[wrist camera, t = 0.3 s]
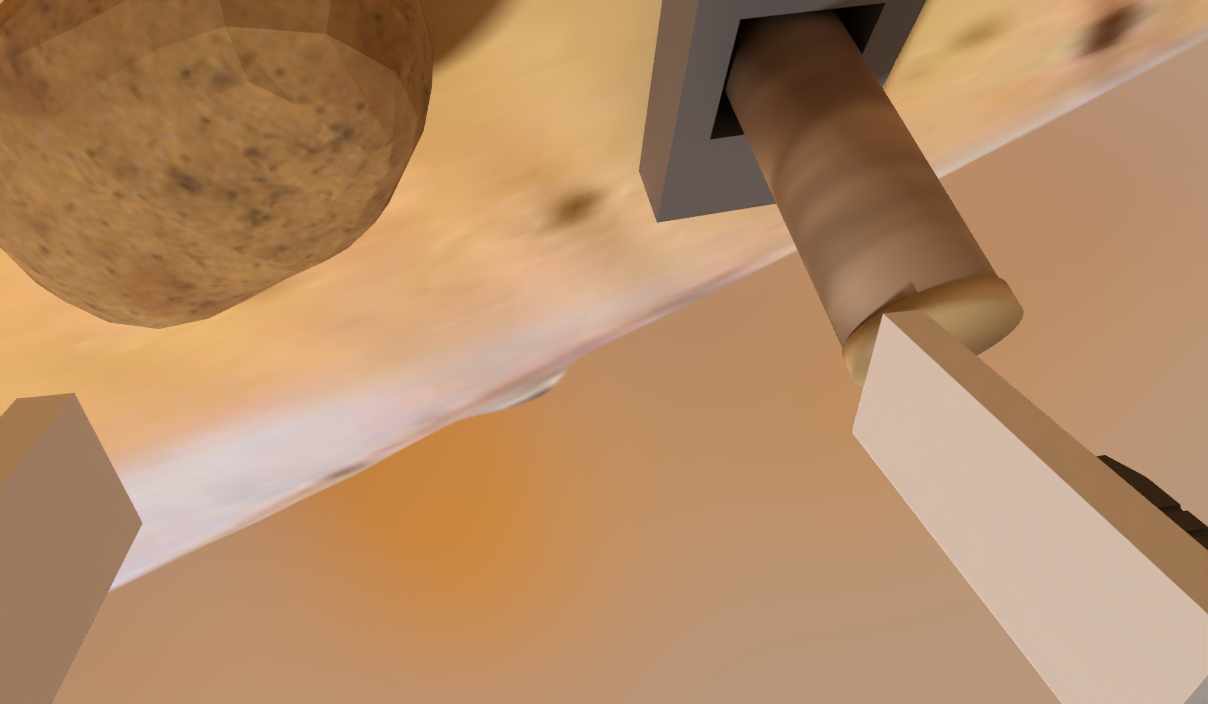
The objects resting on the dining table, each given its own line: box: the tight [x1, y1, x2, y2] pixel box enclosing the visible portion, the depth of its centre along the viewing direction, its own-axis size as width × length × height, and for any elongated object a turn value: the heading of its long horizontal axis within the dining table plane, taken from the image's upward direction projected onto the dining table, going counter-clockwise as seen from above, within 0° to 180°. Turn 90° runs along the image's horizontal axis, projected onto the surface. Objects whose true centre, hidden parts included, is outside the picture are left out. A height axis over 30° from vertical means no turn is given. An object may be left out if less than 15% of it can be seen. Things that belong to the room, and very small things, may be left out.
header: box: [639, 0, 926, 223], centre depth 24 cm, size 14×8×3 cm, turn 177°
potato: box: [0, 0, 433, 329], centre depth 19 cm, size 10×14×8 cm
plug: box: [723, 9, 1023, 387], centre depth 22 cm, size 5×5×14 cm
